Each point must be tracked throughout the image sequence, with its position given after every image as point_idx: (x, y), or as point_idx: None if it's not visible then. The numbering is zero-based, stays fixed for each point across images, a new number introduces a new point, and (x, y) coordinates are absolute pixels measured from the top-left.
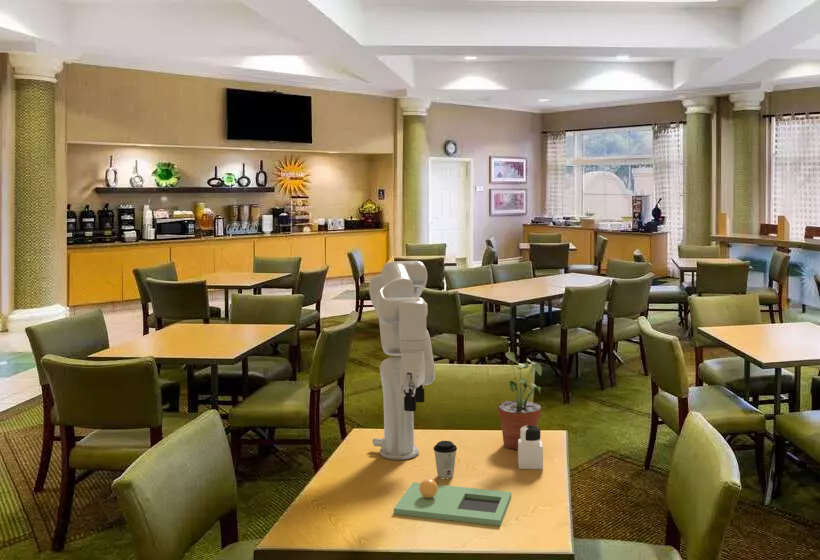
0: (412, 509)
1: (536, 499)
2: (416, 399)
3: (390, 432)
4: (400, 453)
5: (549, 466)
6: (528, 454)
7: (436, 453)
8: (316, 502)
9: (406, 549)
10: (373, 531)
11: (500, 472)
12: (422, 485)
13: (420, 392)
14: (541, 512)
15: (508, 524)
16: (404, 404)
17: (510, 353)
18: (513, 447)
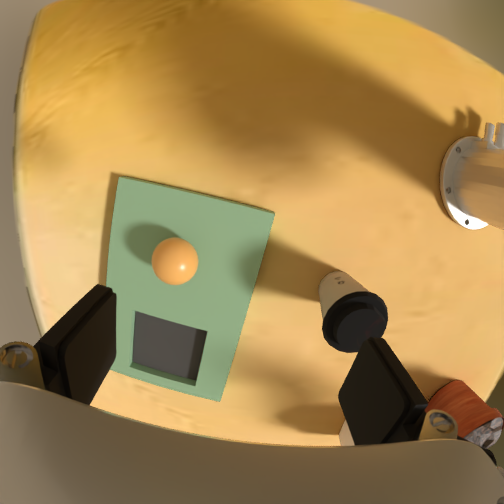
0: (117, 219)
1: (215, 421)
2: (361, 368)
3: (493, 164)
4: (454, 184)
5: None
6: (349, 440)
7: (340, 296)
8: (188, 5)
9: (20, 217)
10: (60, 149)
11: (340, 386)
12: (157, 250)
13: (363, 431)
14: (168, 417)
15: (118, 373)
16: (76, 306)
17: None
18: (432, 399)
